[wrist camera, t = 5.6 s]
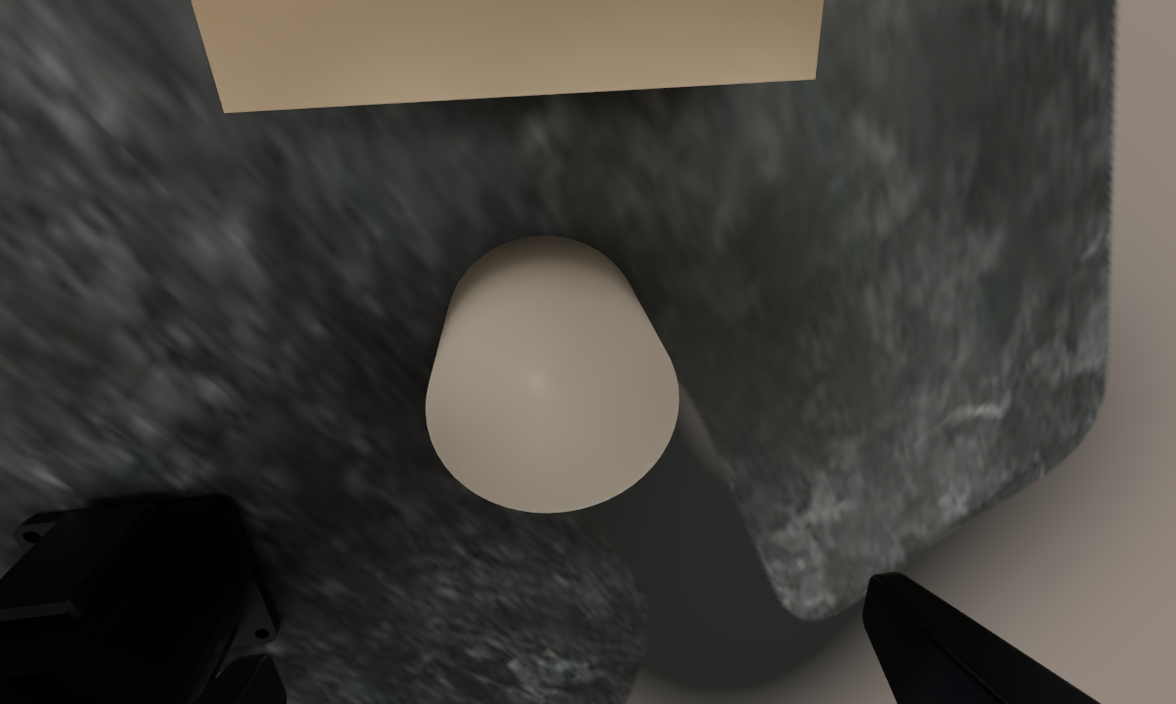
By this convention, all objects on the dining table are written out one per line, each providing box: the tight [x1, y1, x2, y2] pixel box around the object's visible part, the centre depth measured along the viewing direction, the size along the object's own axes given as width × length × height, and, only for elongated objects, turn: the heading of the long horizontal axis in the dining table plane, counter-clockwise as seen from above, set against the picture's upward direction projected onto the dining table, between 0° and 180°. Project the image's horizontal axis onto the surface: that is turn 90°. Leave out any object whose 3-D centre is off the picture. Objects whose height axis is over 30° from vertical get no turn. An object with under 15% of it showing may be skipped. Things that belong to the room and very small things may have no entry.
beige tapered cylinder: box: [426, 236, 679, 513], centre depth 16 cm, size 6×6×5 cm
